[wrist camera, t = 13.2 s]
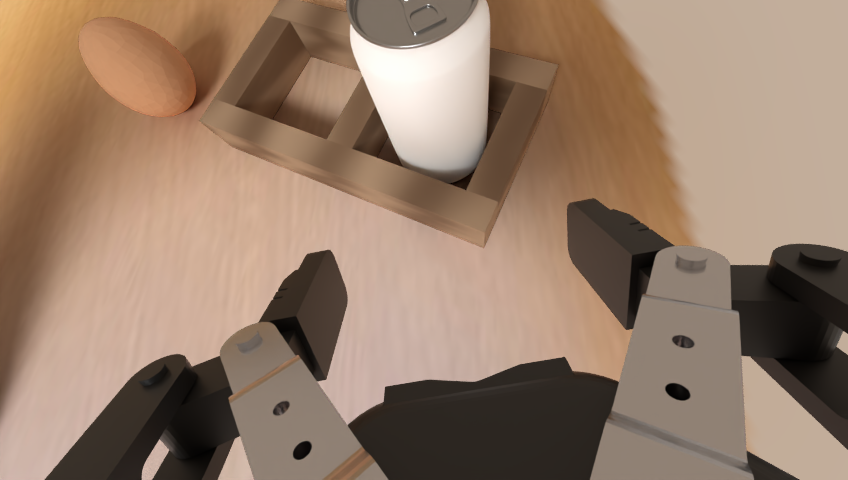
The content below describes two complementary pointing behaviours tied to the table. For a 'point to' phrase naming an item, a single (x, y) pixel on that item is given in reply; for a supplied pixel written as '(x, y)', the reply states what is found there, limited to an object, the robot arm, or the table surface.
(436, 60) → the can
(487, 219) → the rack
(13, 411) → the table surface
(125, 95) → the egg
